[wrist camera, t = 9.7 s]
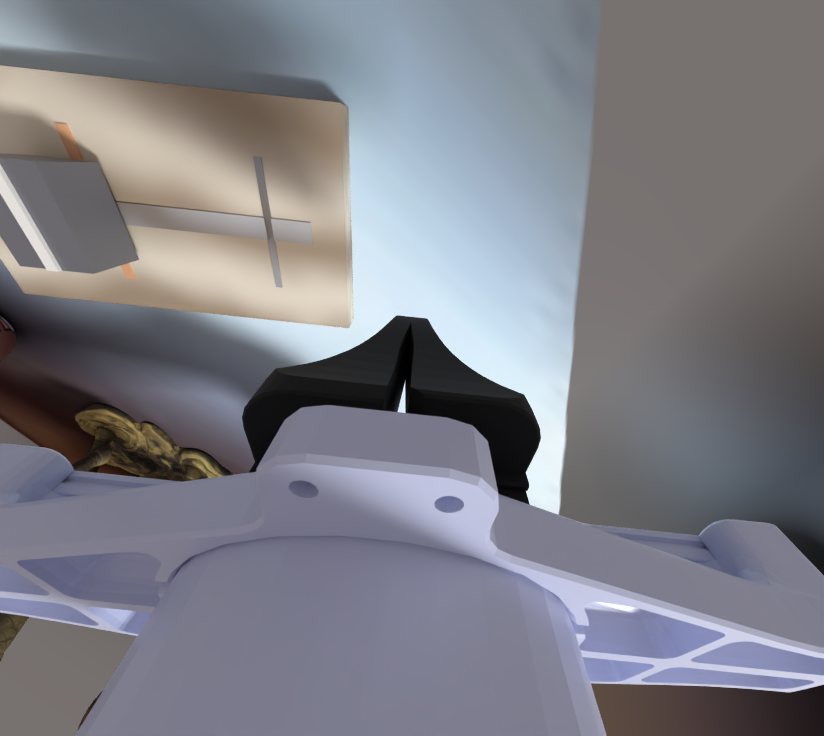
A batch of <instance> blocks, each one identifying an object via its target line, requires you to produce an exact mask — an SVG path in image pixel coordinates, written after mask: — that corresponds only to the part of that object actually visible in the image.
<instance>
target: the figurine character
mask: <svg viewBox="0 0 824 736" xmlns="http://www.w3.org/2000/svg"><path fill="white" fill-rule="evenodd" d="M15 343H16V334H15V331H14V329H13V328H12V326H11V325H10V324H9V323H8V322H7V321H6V320H5V319H4V318H3V317H1V316H0V360H2V359H3V358H5V357H6V356H7V355H8V354H10V352H11V351H12V350H13V348H14V346H15Z"/></svg>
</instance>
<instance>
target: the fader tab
mask: <svg viewBox="0 0 824 736" xmlns="http://www.w3.org/2000/svg"><path fill="white" fill-rule="evenodd" d="M0 237H1V238H2V240H3V241H4V243H5V244H6V246H7V247H8V249H9V250H10V252H11V253H12V255H13V256H14V258H15V259H16V261H17V263H18V264H19V266H24V267H33V268H42V269H47V271H56V272H59V271H70V272H80V273H89V274H95V273H99V272H102V271H105V270H108V269H111V268H114V267H118V266H121V265H124V264H127V263H130V262H133V261H137V260H139V258H138V255H137V253H136V251H135V248H134V246H133V244H132V241H131V239H130V236H129V234H128V232H127V229H126V227H125V225H124V222H123V220H122V218H121V215H120V213H119V211H118V208H117V206H116V204H115V201H114V199H113V197H112V194H111V192H110V189H109V187H108V185H107V182H106V180H105V178H104V175H103V173H102V171H101V168H100V166H99V164H98V162H90V161H81V160H71V159H62V158H53V157H44V156H35V155H25V154H1V153H0Z"/></svg>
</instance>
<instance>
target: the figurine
mask: <svg viewBox="0 0 824 736" xmlns="http://www.w3.org/2000/svg"><path fill="white" fill-rule="evenodd" d="M75 420H76V421H77V423H78V424H79V426H80V427H81V428H82V429H83V430H84V431H85V432H87V433H89V434H91V435H94V436H95V441H94V444H93V446H92V448H91V449H90V451H89V452H88V454H87V456H86V457H84V458H83V459H81V460H79V461H78V462H76V463H74V464H73V465H72V467H73V469H74V471H84V472H93V473H97V470H98V468H99V466H100V465H103V464H105V463H106V464H109V465H112V466H116V467H121V468H123V469H125V470H127V471H129V472H131V473H134V474H137V475H139V476H140V477H141V478H151V479H160V480H170V481H180V482H183V481H191V480H199V479H206V478H214V477H221V476H229V475H233V474H232V473H231V472H230V471H229V470H227V469H225V468H224V467H222V466H221V465H220V464H219V463H218V462H217V461H216V460H215V459H214V458H213V457H212V456H210V455H209V454H207V453H205V452H202V451H199V450H195V449H188V448H181V447H179V446H176V445H175V444H174V442H173V441H172V439H171V438H170V437H169V436H168V435H167V434H166V433H165V432H164V431H163V430H162V429H160V428H159V427H157V426H155V425H153V424H151V423H148V422H142V423H138V422H136V421H135V420H133V419H132V418H131V417H130V416H129V415H127V414H126V413H124V412H123V411H121V410H119V409H117V408H114V407H112V406H109V405H105V404H97V403H96V404H93V405H91V406H88V407H86V408H84V409H82V410H80V411H78V412H77V413H76V414H75ZM28 618H29V617H28V616H21V615H14V614H7V613H0V661H1V659H2V657H3V654H4V652H5V650H6V649H7V648H8V647H9V645H10V644H11V642H12V641H13V639H14V638H15V637H16V635H17V634H18V632H19V631H20V629H21V628H22V626H23V625H24V623H25V622H26V621H27V619H28ZM102 692H103V691H102ZM102 692H101V693H102ZM101 693H100V694H99V695H98V697H97V698H96V699H95V700H94V701H93V703H92V704H91V705H90V707H89V708H88V710H87V711H86V713H85V715H84V717H83V718H82V721H81V723H80V725H79V728H80V727H81V725H82V724H83V722H84V720H85V719H86V717H87V716H88V714H89V712H90V711H91V709H92V708H93V706H94V704H95V703H96V701H97V700H98V698H99V697H100V695H101ZM79 728H78V730H79Z"/></svg>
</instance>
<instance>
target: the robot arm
mask: <svg viewBox="0 0 824 736" xmlns="http://www.w3.org/2000/svg"><path fill="white" fill-rule="evenodd" d="M404 383H405V389H406V413H399V412H397V411H398V407H399V403H400V399H401V395H402V391H403V387H404ZM242 419H243V426H244V430H245V433H246V436H247V439H248V442H249V445H250V448H251V451H252V454H253V457H254V460H255V463H254V465H253V467H252V468H251V470H250V472H249V473H244V474H236V475H229V476H221V477H214V478H206V479H199V480H191V481H183V482H180V481H170V480H160V479H151V478H141V477H132V476H122V475H113V474H103V473H93V472H84V471H74V469H73V467H72V465H71V464H70V462H69V461H68V460H67V459H66V458H65V457H64V456H63V455H61V454H60V453H58V452H56V451H54V450H52V449H48V448H43V447H33V446H24V445H15V444H0V613H7V614H14V615H21V616H28V617H34V618H41V619H46V620H52V621H58V622H64V623H69V624H75V625H80V626H87V627H91V628H97V629H102V630H108V631H113V632H119V633H124V634H130V635H135V636H137V638H136V639H135V641H134V643H133V644H132V646H131V647H130V649H129V650H128V652H127V654H126V655H125V657H124V659H123V660H122V662H121V663H120V665H119V666H118V668H117V670H116V671H115V673H114V674H113V676H112V678H111V679H110V681H109V682H108V684H107V685H106V687H105V689H104V690H103V692H102V693H101V695H100V697H99V698H98V700H97V701H96V703H95V704H94V706H93V708H92V709H91V711H90V712H89V714H88V716H87V717H86V719H85V720H84V722H83V724H82V725H81V727H80V728H79V730H78V732H77V733H76V735H75V736H606V732H605V729H604V726H603V722H602V719H601V716H600V713H599V709H598V706H597V703H596V700H595V696H594V693H593V690H592V687H591V683H606V684H653V685H654V684H655V685H688V686H713V687H731V688H747V689H758V690H771V691H781V692H794V691H798V690H802V689H807V688H810V687H815V686H819V685H824V576H823V575H822V574H821V573H820V572H819V570H817V568H816V567H815V566H814V565H813V564H812V563H811V562H810V561H809V560H808V559H807V558H806V557H805V556H804V555H803V554H802V553H801V552H800V551H799V550H798V549H797V548H796V546H795V545H794V544H792V542H791V541H790V540H789V539H788V538H787V537H786V536H785V535H784V534H783V533H782V532H781V531H780V530H779V529H778V528H777V527H776V526H775V525H773V524H769V523H761V522H751V521H742V520H732V519H731V520H720V521H717V522H714V523H712V524H710V525H709V526H707V527H706V528H705V529H704V530H703V531H702V532H701V533H700V535H699V536H697V535H687V534H678V533H669V532H659V531H649V530H640V529H630V528H619V527H610V526H602V525H592V524H583V523H580V522H577V521H575V520H572V519H569V518H566V517H563V516H560V515H557V514H555V513H552V512H549V511H546V510H543V509H540V508H537V507H535V506H532V505H530V504H529V501H528V497H527V494H526V491H527V490H528V488H529V482H528V479H527V476H526V471H527V469H528V467H529V465H530V463H531V461H532V459H533V457H534V455H535V453H536V451H537V449H538V446H539V442H540V439H541V436H540V428H539V425H538V423H537V420H536V418H535V415H534V413H533V411H532V409H531V407H530V405H529V403H528V401H527V399H526V398H525V396H524V395H523V394H521V393H518V392H516V391H513V390H511V389H508V388H506V387H503V386H501V385H499V384H497V383H495V382H493V381H491V380H489V379H487V378H485V377H483V376H482V375H480V374H478V373H477V372H475V371H474V370H472V369H471V368H469V367H468V366H467V365H465V364H464V363H463V362H461V361H460V360H459V359H458V358H457V357H456V356H455V355H453V354H452V353H451V352H450V351H449V349H448V348H447V347H446V346H445V345H444V344H443V342H442V341H441V340H440V338H439V337H438V336H437V334H436V333H435V331H434V329H433V328H432V326H431V324H430V322H429V321H428V319H425V318H415V317H406V316H396V317H394V318H393V319H392V320H391V321H390V322H389V323H388V324H387V325H386V326H385V327H384V328H382V329H381V330H380V331H379V332H378V333H376V334H375V335H374V336H372V337H371V338H370V339H368V340H367V341H365V342H364V343H362V344H360V345H358V346H356V347H354V348H352V349H350V350H348V351H346V352H343V353H341V354H338V355H335V356H333V357H330V358H327V359H323V360H320V361H316V362H312V363H308V364H303V365H297V366H291V367H285V368H277V369H275V370H274V371H273V372H272V373H271V375H270V376H269V377H268V378H267V379H266V380H265V382H264V383H263V384H262V386H261V387H260V388H259V389H258V391H257V392H256V393H255V395H254V396H253V397H252V399H251V400H250V401H249V403H248V404H247V405H246V406H245V408H244V412H243V416H242Z"/></svg>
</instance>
